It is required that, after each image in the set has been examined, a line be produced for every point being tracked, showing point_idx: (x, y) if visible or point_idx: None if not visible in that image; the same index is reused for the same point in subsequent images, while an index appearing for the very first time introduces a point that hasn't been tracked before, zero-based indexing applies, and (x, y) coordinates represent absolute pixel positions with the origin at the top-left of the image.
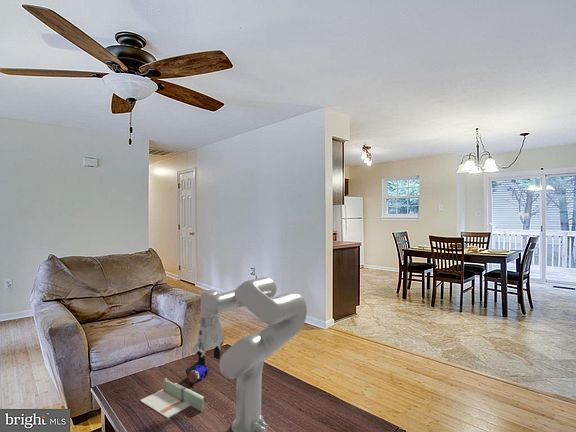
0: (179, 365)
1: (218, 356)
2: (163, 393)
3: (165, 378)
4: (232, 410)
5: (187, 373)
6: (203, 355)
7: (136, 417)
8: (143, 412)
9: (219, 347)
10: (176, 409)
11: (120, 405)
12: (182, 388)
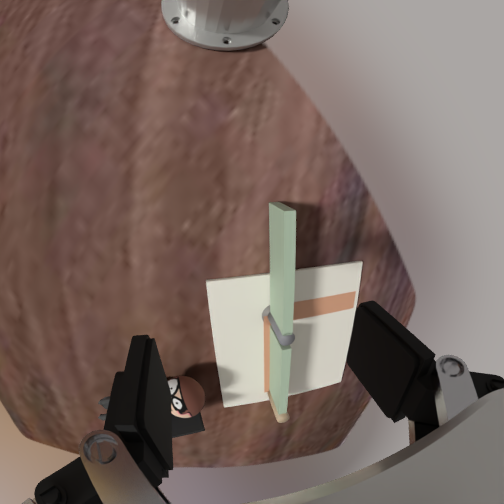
0: None
1: (150, 356)
2: None
3: (281, 420)
4: (184, 112)
5: (199, 416)
6: (441, 369)
7: None
8: None
9: (115, 461)
10: (323, 281)
11: None
12: (282, 348)
